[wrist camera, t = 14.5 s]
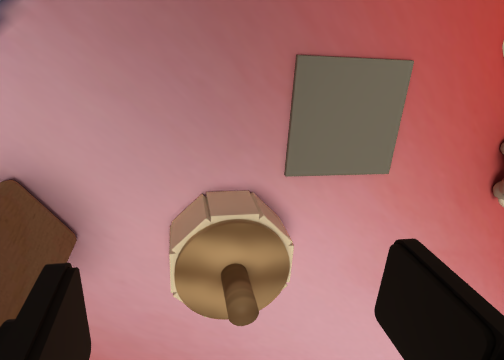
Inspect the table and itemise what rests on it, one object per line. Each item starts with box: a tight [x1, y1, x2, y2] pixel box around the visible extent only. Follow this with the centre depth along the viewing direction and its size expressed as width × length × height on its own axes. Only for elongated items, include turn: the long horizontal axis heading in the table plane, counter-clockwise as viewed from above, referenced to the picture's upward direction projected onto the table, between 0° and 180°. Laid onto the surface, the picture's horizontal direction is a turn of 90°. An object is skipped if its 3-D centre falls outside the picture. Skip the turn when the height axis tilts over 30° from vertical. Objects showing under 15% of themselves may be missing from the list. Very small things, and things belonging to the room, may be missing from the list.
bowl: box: [169, 190, 294, 317], centre depth 43 cm, size 14×14×6 cm
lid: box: [174, 219, 290, 326], centre depth 37 cm, size 13×13×7 cm
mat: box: [284, 55, 414, 176], centre depth 42 cm, size 14×14×1 cm
